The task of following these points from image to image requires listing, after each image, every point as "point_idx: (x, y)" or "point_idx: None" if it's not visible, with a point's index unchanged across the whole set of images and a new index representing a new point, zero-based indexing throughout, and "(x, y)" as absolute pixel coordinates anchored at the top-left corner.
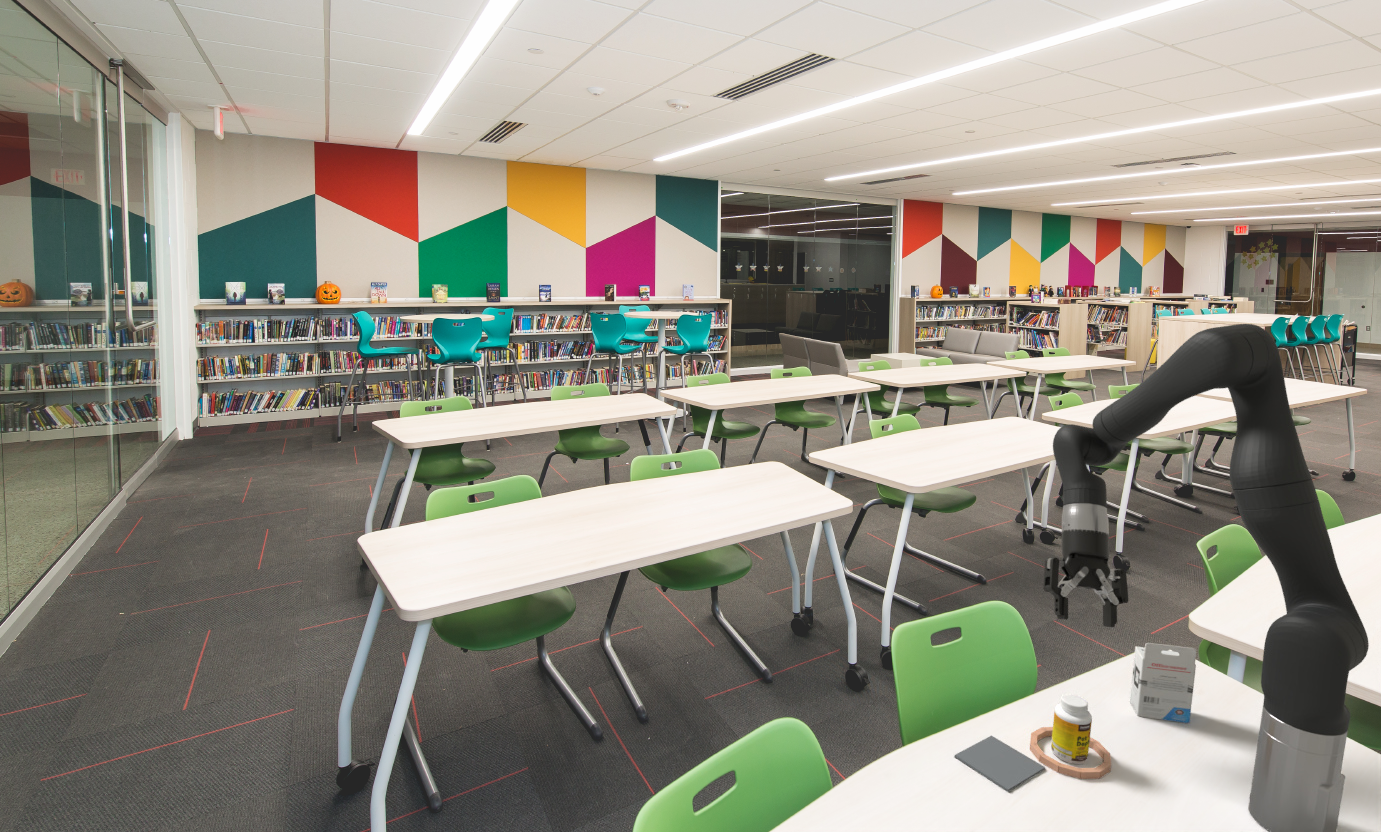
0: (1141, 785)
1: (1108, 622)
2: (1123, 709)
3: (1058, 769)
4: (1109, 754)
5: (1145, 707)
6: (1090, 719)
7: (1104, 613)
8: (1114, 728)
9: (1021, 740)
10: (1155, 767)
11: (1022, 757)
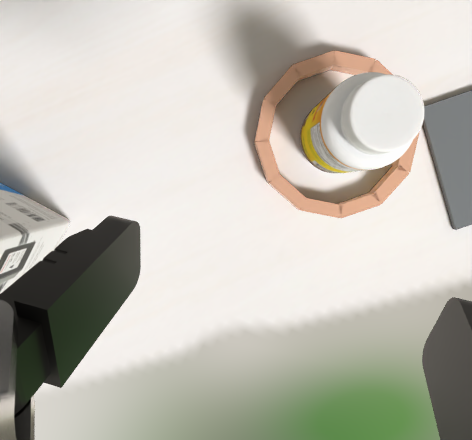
0: (262, 16)
1: (127, 252)
2: None
3: None
4: (268, 95)
5: (47, 215)
6: (351, 77)
7: (97, 323)
8: (161, 194)
9: (396, 205)
10: (185, 57)
11: (444, 146)
